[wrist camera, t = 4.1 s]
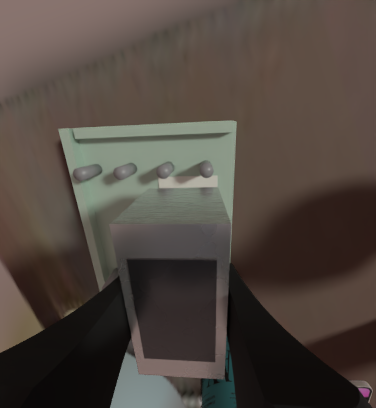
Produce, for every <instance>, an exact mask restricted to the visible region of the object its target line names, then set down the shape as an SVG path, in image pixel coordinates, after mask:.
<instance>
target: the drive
mask: <svg viewBox="0 0 376 408" xmlns="http://www.w3.org/2000/svg"><path fill="white" fill-rule="evenodd" d="M109 226H110V231H111V236H112V241H113V246H114V251H115V256H116V261H117V266H118V271H119V276H120V281H121V286H122V291H123V296H124V301H125V306H126V311H127V316H128V321H129V326H130V332H131V337H132V342H133V347H134V352H135V357H136V362H137V366H138V372H139V374H144V375H160V376H176V377H192V378H209V379H224V378H225V356H226V333H227V310H228V288H229V265H230V242H231V222H230V219H229V216H228V213H227V210H226V208H225V205H224V202H223V199H222V196H221V193H220V191H219V188H218V187H195V188H148V189H147V190H146V191H145V192H144V193H143V194H142V195H141V196H140V197H139V198H138V199H136V200H135V201H134V202H133V203H132V204H131V205H130V206H129V207H128V208H127V209H126V210H124V211H123V212H122V213H121V214H120V215H119V216H118V217H117V218H116V219H115V220H114V221H112V222H111V223H110V224H109Z"/></svg>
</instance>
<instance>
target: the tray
mask: <svg viewBox="0 0 376 408" xmlns="http://www.w3.org/2000/svg"><path fill="white" fill-rule="evenodd" d="M236 122H237V121H234V122H233V120H231V121H211V122H190V123H170V124H149V125H128V126H108V127H87V128H73V129H69V128H67V129H58V130H59V134H60V138H61V142H62V146H63V149H64V153H65V157H66V161H67V165H68V169H69V173H70V177H71V181H72V185H73V189H74V193H75V196H76V200H77V204H78V208H79V212H80V216H81V220H82V224H83V228H84V232H85V236H86V239H87V243H88V247H89V251H90V255H91V259H92V263H93V267H94V271H95V275H96V279H97V283H98V286H99V290H100V291H102V290H103V289H104V288H105V287H107V286H108V285H109V284H110V283H111V282H112V281H113V280H115V279H116V278H117V277H118V276H119V271H118V266H117V261H116V256H115V251H114V246H113V241H112V236H111V231H110V226H109V224H110V223H111V222H112V221H114V220H115V219H116V218H117V217H118V216H119V215H120V214H121V213H122V212H123V211H124V210H126V209H127V208H128V207H129V206H130V205H131V204H132V203H133V202H134V201H135V200H136V199H138V198H139V197H140V196H141V195H142V194H143V193H144V192H145V191H146V190H147V189H148V188H195V187H218V188H219V191H220V193H221V196H222V199H223V202H224V205H225V208H226V210H227V213H228V216H229V219H230V222H231V231H232V210H233V188H234V166H235V144H236ZM230 253H231V242H230Z"/></svg>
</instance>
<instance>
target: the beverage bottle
mask: <svg viewBox="0 0 376 408" xmlns="http://www.w3.org/2000/svg"><path fill="white" fill-rule="evenodd" d="M201 394H202V400H201V401H202V406H201V407H202V408H237V405H236V396H235V387H234V378H233V369H232V361H231V354H230V349H229V343H228V338H227V336H226V356H225V378H224V379H209V378H201Z"/></svg>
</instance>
